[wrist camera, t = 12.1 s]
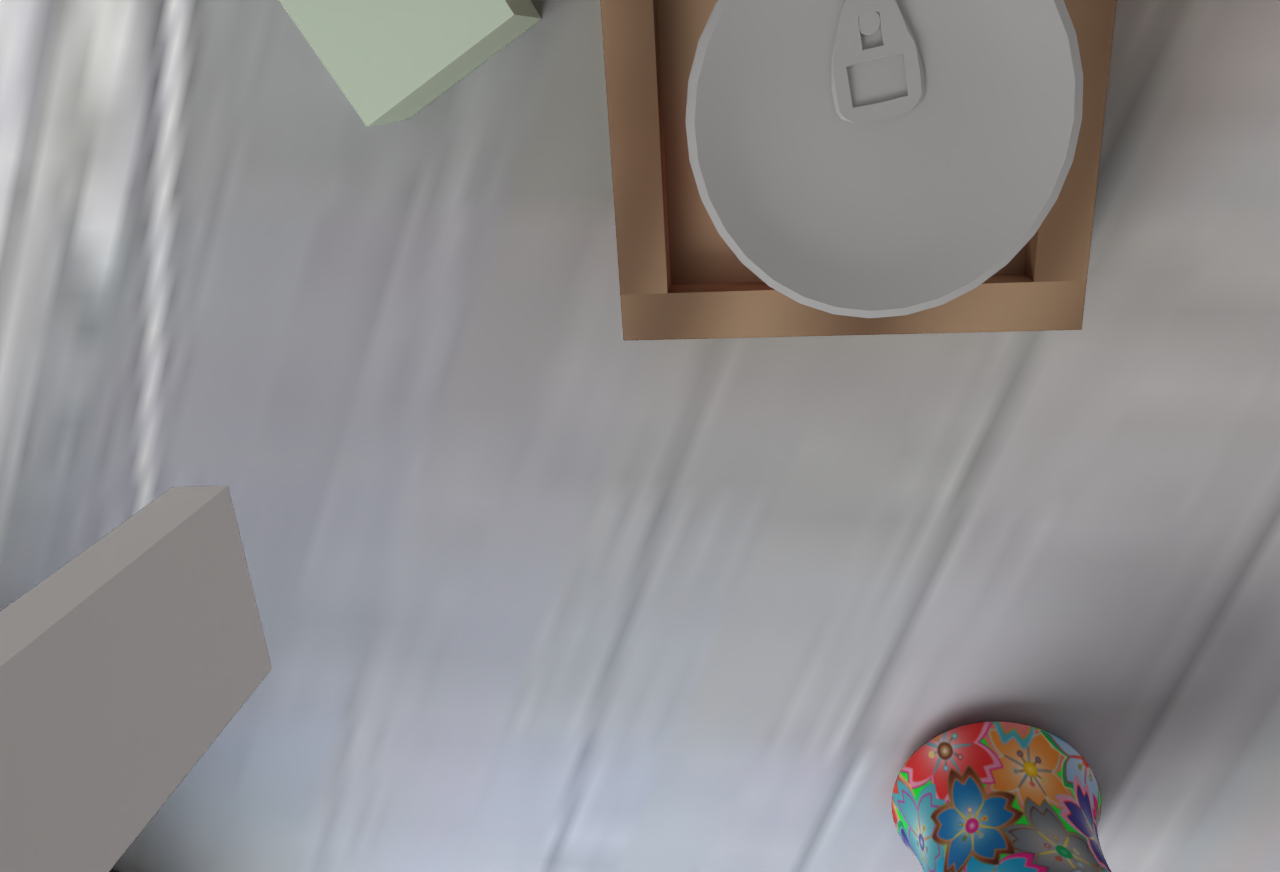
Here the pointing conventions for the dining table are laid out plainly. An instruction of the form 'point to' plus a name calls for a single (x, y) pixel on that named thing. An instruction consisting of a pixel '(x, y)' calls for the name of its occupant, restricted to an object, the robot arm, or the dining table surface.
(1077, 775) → the mug
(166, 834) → the dining table surface
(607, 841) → the dining table surface
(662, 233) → the wooden tray
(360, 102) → the brick
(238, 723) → the dining table surface
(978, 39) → the canned food
